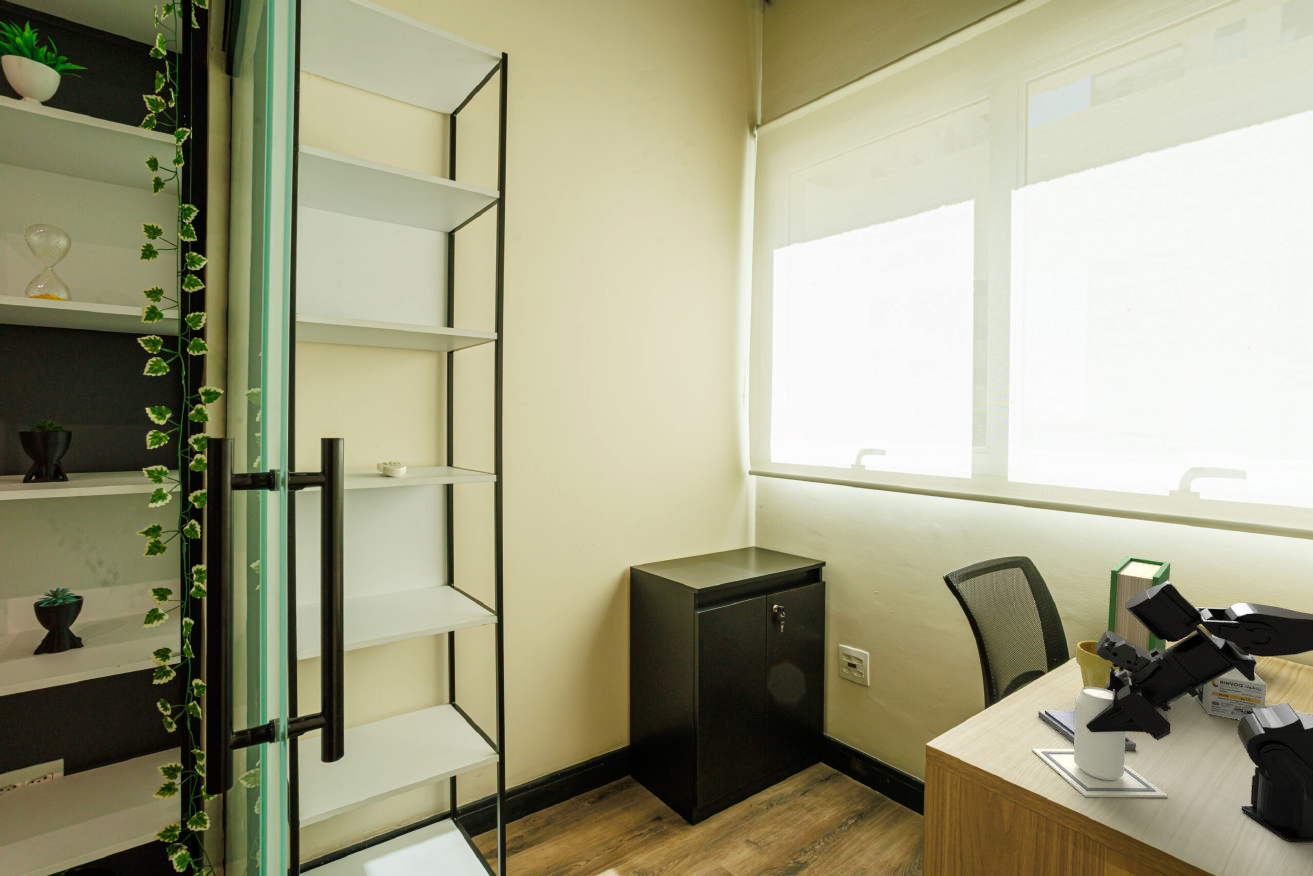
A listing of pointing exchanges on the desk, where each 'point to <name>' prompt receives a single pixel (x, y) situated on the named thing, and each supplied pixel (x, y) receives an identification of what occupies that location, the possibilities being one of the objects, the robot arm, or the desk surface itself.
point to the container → (1233, 693)
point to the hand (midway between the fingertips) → (1087, 720)
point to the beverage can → (1097, 737)
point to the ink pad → (1069, 724)
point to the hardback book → (1124, 586)
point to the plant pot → (1092, 665)
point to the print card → (1096, 787)
